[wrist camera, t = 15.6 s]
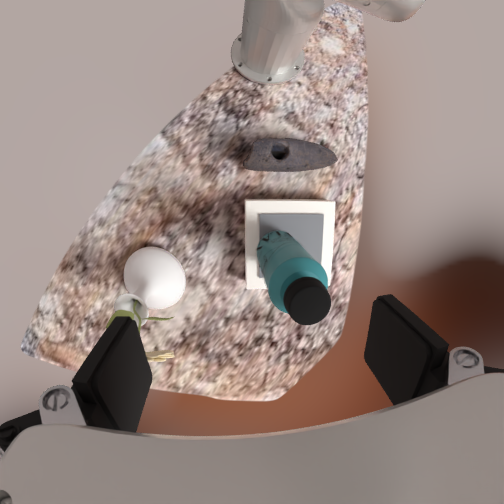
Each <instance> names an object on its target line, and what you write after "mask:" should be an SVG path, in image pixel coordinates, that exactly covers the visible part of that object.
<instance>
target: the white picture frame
mask: <svg viewBox="0 0 504 504" xmlns="http://www.w3.org/2000/svg"><path fill="white" fill-rule="evenodd" d="M334 222H335V202H334V201H330V200H316V199H245V281H246V288H247V289H268V288H267V286H266V283H264V277H263V276H262V275H263V274H262V272H261V268H259V266H260V264H259V261H258V260H257V259H258V258H257V249H256V248H257V247H256V246H258V243H259V241H260V240H261V238H263V237H262V236H265V235H266V233H270V232H272V231H273V230H274V231H278V230H281V231H283V230H284V232H287V233H289V234H290V235H291V236H292V237H293V238H294V239H295V240H296V241H297V240H298V241H297V242H298V243H299V242H300V243H301V244H302V245H301V244H300V243H299V244H300V245H301V246H302V247H303V248H304V249H305V250H306V251H307V252H308V253H309V254H310V255H311V256H312V257H313V258H314V259H315V260H316V261H317V262H318V263H320V264H321V265H322V267H323V268H324V270H325V271H326V274H327V277H328V286H330V278H331V267H332V255H333V240H334Z"/></svg>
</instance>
